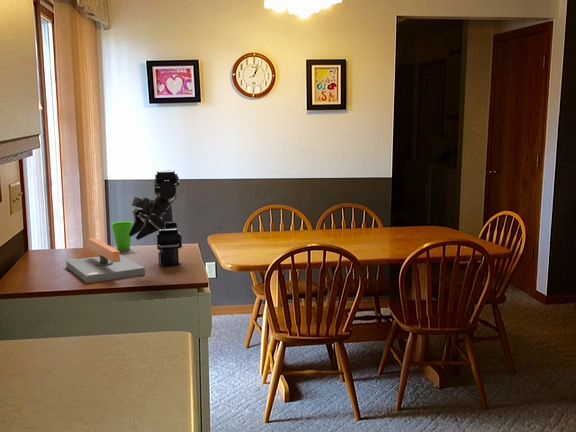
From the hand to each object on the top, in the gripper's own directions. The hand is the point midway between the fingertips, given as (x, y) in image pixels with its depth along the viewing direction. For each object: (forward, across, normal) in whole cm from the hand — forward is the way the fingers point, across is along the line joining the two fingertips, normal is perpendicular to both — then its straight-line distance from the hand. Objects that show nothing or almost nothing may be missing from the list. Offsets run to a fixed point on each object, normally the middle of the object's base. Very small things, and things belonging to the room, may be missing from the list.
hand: (133, 237), depth 214 cm
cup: (+3, -44, +17) cm, 47 cm away
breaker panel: (+15, -11, +4) cm, 19 cm away
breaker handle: (+13, -11, +2) cm, 17 cm away
